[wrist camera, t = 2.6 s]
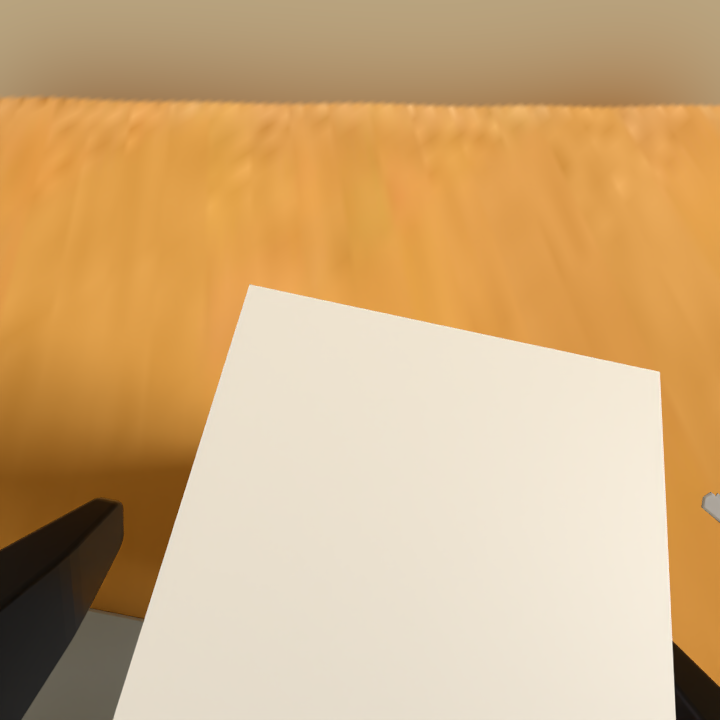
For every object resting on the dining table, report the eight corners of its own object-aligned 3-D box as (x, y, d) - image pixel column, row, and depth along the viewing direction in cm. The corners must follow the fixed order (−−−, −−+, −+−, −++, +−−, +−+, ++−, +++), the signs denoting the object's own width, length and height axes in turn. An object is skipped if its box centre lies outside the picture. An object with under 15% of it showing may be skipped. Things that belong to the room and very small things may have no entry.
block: (396, 622, 16) (684, 937, 3) (263, 596, 16) (81, 823, 3) (415, 485, 17) (660, 372, 5) (295, 461, 17) (249, 284, 5)
